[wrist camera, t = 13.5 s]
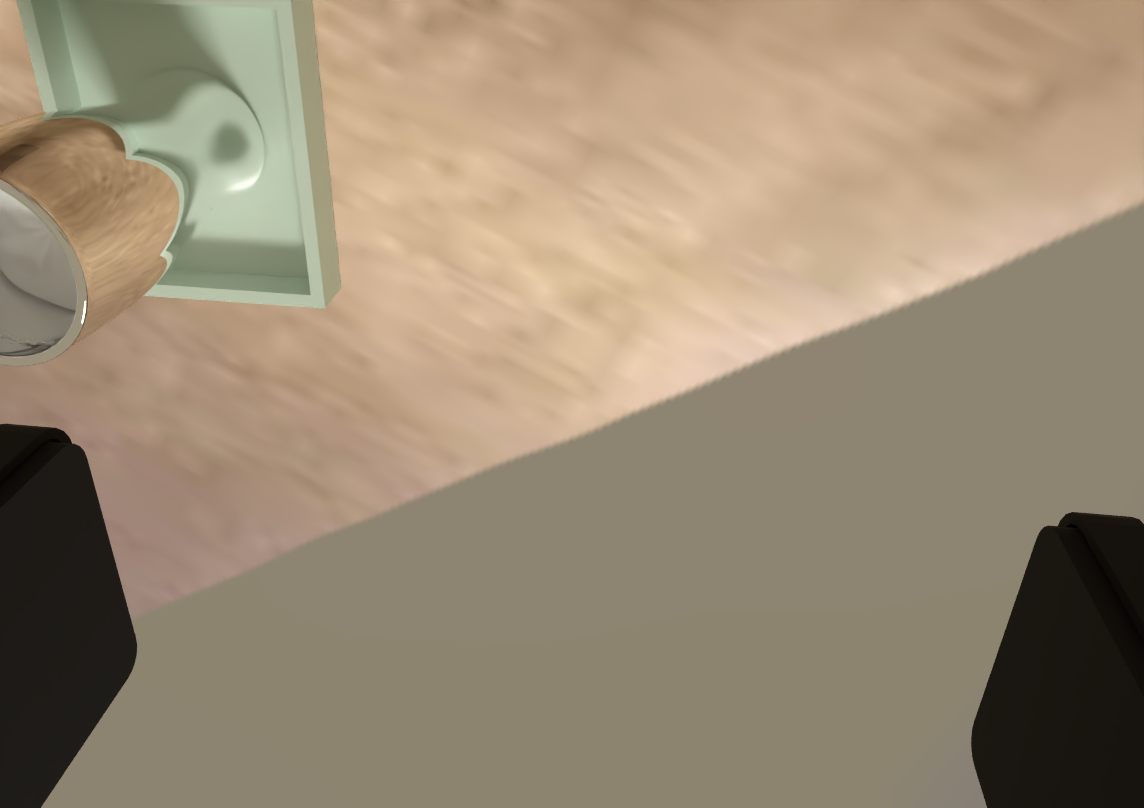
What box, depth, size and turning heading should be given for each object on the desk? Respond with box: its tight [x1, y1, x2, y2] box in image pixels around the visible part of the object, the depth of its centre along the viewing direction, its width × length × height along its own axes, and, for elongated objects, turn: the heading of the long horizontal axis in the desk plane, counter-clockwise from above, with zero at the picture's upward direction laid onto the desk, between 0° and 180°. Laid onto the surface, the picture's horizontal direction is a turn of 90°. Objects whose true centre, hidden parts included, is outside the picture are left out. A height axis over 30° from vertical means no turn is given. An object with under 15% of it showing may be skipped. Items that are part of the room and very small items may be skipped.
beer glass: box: [0, 69, 265, 366], centre depth 36 cm, size 7×7×15 cm
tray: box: [17, 0, 341, 308], centre depth 42 cm, size 13×11×2 cm
